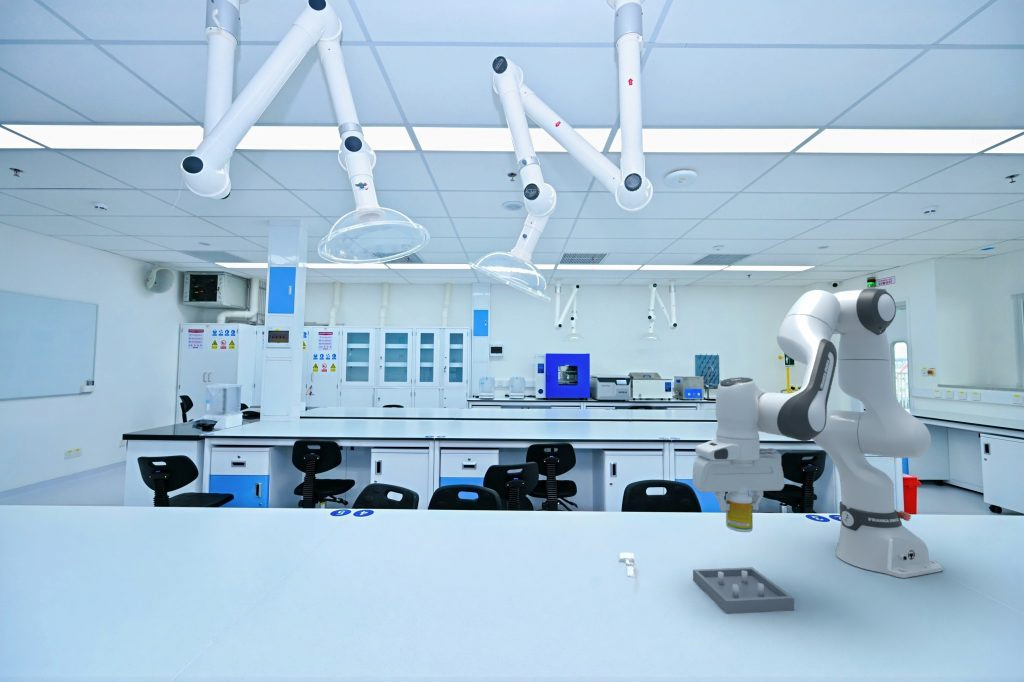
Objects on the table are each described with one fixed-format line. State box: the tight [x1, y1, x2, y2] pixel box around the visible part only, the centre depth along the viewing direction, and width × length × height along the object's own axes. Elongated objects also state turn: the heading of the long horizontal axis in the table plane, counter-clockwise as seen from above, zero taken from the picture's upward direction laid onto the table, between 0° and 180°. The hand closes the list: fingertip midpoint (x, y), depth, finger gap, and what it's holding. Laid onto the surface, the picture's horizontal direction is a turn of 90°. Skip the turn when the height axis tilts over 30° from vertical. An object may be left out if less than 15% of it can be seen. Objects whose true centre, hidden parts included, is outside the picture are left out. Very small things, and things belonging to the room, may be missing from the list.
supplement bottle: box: [725, 487, 754, 533], centre depth 100 cm, size 5×5×10 cm
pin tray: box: [692, 566, 795, 614], centre depth 99 cm, size 15×14×4 cm
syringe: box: [618, 551, 639, 582], centre depth 110 cm, size 20×5×2 cm, turn 172°
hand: (738, 510), depth 100 cm, fingers closed on supplement bottle, 5 cm apart
